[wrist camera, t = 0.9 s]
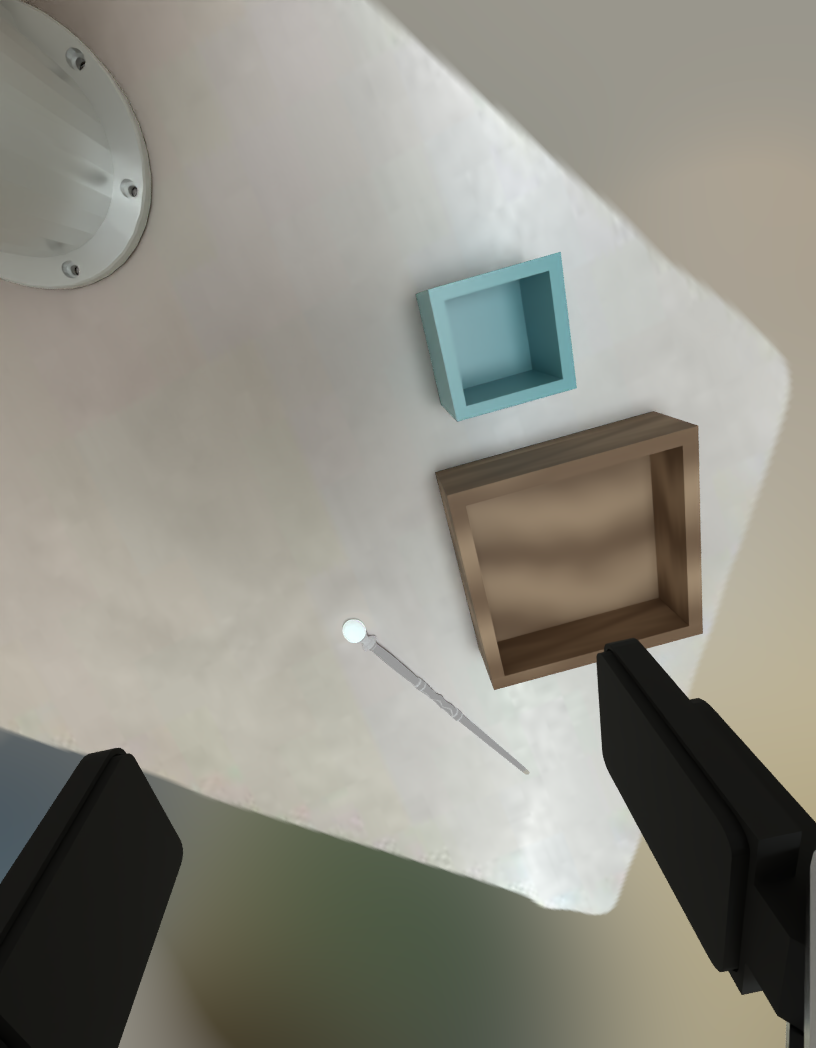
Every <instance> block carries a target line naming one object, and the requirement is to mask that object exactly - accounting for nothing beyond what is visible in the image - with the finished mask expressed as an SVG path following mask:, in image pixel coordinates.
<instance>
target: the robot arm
mask: <svg viewBox="0 0 816 1048" xmlns="http://www.w3.org/2000/svg"><path fill="white" fill-rule="evenodd" d="M82 62H85V66H84V68H83V69H82V70H81V69H80V64H81V63H82ZM134 187H137V189H138V193H137V196H136V197H133V195H132V193H131V191H132V188H134ZM150 204H151V172H150V165H149V158H148V151H147V148H146V145H145V142H144V138H143V135H142V132H141V128H140V125H139V123H138V121H137V119H136V117H135V114H134V112H133V110H132V108H131V106H130V104H129V102H128V100H127V98H126V96H125V94H124V93H123V91H122V90H121V88H120V87H119V85H118V84H117V82H116V81H115V79H114V78H113V76H112V75H111V73H110V72H109V71H108V70H107V68H106V67H105V66H104V65H103V64H102V63H101V62H100V61H99V59H98V58H97V57H96V56H95V55H94V54H93V53H92V52H91V51H90V49H89V48H88V47H87V46H86V45H84V44H83V43H82V42H81V41H80V40H79V39H78V38H77V37H76V36H75V35H74V34H73V33H72V32H71V31H69V30H68V29H67V28H66V27H64V26H63V25H61V24H60V23H59V22H57V21H56V20H54V19H53V18H52V17H50V16H49V15H47V14H46V13H44V12H43V11H41V10H39V9H37V8H35V7H33V6H31V5H29V4H27V3H25V2H22V1H20V0H0V279H3V280H5V281H8V282H12V283H16V284H19V285H23V286H27V287H32V288H41V289H73V288H77V287H81V286H86V285H90V284H93V283H95V282H97V281H99V280H101V279H103V278H105V277H107V276H109V275H110V274H111V273H113V272H114V271H115V270H116V269H117V268H119V267H120V266H121V265H122V264H123V263H125V261H126V260H127V259H128V257H129V256H130V255H131V253H132V252H133V251H134V249H135V248H136V247H137V245H138V242H139V240H140V238H141V236H142V233H143V231H144V229H145V227H146V223H147V218H148V213H149V209H150ZM76 266H78V269H79V274H78V275H77V274H76V273H75V267H76ZM596 661H597V676H598V692H599V708H600V723H601V739H602V753H603V758H604V761H605V764H606V767H607V769H608V771H609V774H610V775H611V777H612V779H613V781H614V783H615V785H616V787H617V788H618V790H619V792H620V794H621V796H622V798H623V799H624V801H625V803H626V805H627V807H628V809H629V811H630V812H631V814H632V816H633V818H634V820H635V822H636V824H637V825H638V827H639V829H640V831H641V833H642V835H643V837H644V838H645V840H646V842H647V844H648V846H649V848H650V850H651V851H652V853H653V855H654V857H655V859H656V861H657V862H658V864H659V866H660V868H661V870H662V872H663V874H664V875H665V877H666V879H667V881H668V883H669V885H670V887H671V888H672V890H673V892H674V894H675V896H676V898H677V899H678V901H679V903H680V905H681V907H682V909H683V911H684V913H685V914H686V916H687V918H688V920H689V922H690V923H691V925H692V927H693V929H694V931H695V933H696V935H697V937H698V939H699V940H700V942H701V944H702V946H703V948H704V950H705V951H706V953H707V955H708V957H709V959H710V960H711V962H712V964H713V965H714V966H715V968H716V969H717V970H718V971H719V972H724V971H729V973H730V975H731V977H732V978H733V980H734V982H735V983H736V986H737V987H738V989H739V991H740V992H741V994H742V995H744V994H749V993H753V992H758V991H763V992H764V994H765V996H766V997H767V999H768V1000H769V1002H770V1004H771V1006H772V1007H773V1009H774V1010H775V1012H776V1014H777V1016H779V1017H781V1018H782V1019H784V1020H785V1021H787V1022H786V1023H787V1024H786V1048H816V823H815V821H814V820H813V819H812V818H811V817H810V816H809V815H808V813H806V811H805V810H804V809H803V808H802V807H801V806H800V805H799V803H798V802H797V801H796V800H795V799H794V798H793V797H792V796H791V795H790V793H789V792H788V791H787V790H786V789H785V788H784V787H783V786H782V785H781V784H780V782H778V780H777V779H776V778H775V777H774V776H773V775H772V773H771V772H770V771H769V770H768V769H767V768H766V767H765V766H764V765H763V763H762V762H761V761H760V760H759V759H758V758H757V757H756V756H755V755H754V754H753V752H752V751H751V750H750V749H749V748H748V747H747V746H746V745H745V743H744V742H743V741H742V740H741V739H740V738H739V737H738V736H737V735H736V733H735V732H734V731H733V730H732V729H731V728H730V727H729V726H728V725H727V724H726V722H725V721H724V720H723V719H722V718H721V717H720V716H719V715H718V713H717V712H716V711H715V710H714V709H713V708H712V707H711V706H710V705H709V704H708V703H706V701H704V700H702V699H700V698H696V699H691V700H689V699H688V697H687V696H686V695H685V694H684V693H683V692H682V690H681V689H680V688H679V687H678V686H677V685H676V683H675V682H674V681H673V680H672V679H671V678H670V676H669V675H668V674H667V673H666V672H665V671H664V669H663V668H662V667H661V666H660V665H659V664H658V662H657V661H656V660H655V659H654V658H653V657H652V655H651V654H650V653H649V652H648V651H647V650H646V648H645V647H644V646H643V645H642V644H641V643H640V642H639V641H638V640H637V639H636V638H630V639H625V640H621V641H616V642H611V643H607V644H605V646H604V652H601V653H598V654H597V656H596ZM182 856H183V848H182V843H181V840H180V838H179V837H178V835H177V833H176V831H175V829H174V828H173V826H172V824H171V822H170V821H169V819H168V817H167V815H166V813H165V812H164V810H163V808H162V806H161V805H160V803H159V801H158V799H157V797H156V795H155V794H154V792H153V790H152V788H151V786H150V785H149V783H148V781H147V779H146V777H145V776H144V774H143V772H142V770H141V768H140V767H139V765H138V763H137V761H136V759H135V758H134V756H133V755H131V754H130V753H129V754H126V752H125V751H124V750H123V749H121V748H114V749H109V750H105V751H100V752H95V753H91V754H88V755H86V756H85V757H84V758H83V759H82V760H81V761H80V763H79V765H78V766H77V767H76V769H75V770H74V772H73V774H72V775H71V777H70V778H69V780H68V781H67V783H66V785H65V786H64V787H63V789H62V791H61V792H60V793H59V795H58V796H57V798H56V800H55V801H54V803H53V804H52V806H51V807H50V809H49V810H48V812H47V813H46V815H45V816H44V818H43V819H42V821H41V822H40V824H39V825H38V827H37V829H36V830H35V832H34V833H33V835H32V836H31V838H30V839H29V841H28V842H27V844H26V845H25V847H24V848H23V850H22V852H21V853H20V854H19V856H18V858H17V859H16V861H15V862H14V864H13V865H12V867H11V868H10V870H9V871H8V873H7V874H6V876H5V877H4V879H3V881H2V882H1V884H0V1048H118V1046H119V1043H120V1040H121V1037H122V1034H123V1031H124V1028H125V1026H126V1023H127V1020H128V1017H129V1014H130V1011H131V1008H132V1005H133V1002H134V999H135V996H136V994H137V991H138V988H139V985H140V982H141V979H142V976H143V973H144V970H145V967H146V964H147V962H148V959H149V955H150V953H151V950H152V947H153V944H154V941H155V938H156V935H157V932H158V930H159V927H160V924H161V920H162V918H163V915H164V912H165V909H166V906H167V903H168V901H169V897H170V895H171V892H172V889H173V886H174V883H175V880H176V877H177V874H178V871H179V868H180V866H181V862H182Z"/></svg>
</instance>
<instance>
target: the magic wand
mask: <svg viewBox="0 0 816 1048" xmlns="http://www.w3.org/2000/svg"><path fill="white" fill-rule="evenodd" d="M343 635H344V637H345V638H346V639H347V640H348V641H349V642H352V643H362V644H363V650H364V651H368V650H371V651H372V652H374V653H375V654H376V655H377V656H378V657H379V658H380V659H382V660H383V661H384V662H385V663H386V664H388V665H389V666H390V667H391V668H393V669H394V670H395V671H396V672H398V673H399V674H400V675H402V676H403V677H404V678H406V679H407V680H408V681H410V682H411V683H412V684H413V686H414V687H416V688H417V689H418V690H419V691H421V692H422V693H424V694H426V695H427V696H428V697H429V698H431V699H433V700H434V701H435V702H436V703H437V704H438V705H439V706H440V707H441V708H443V709H444V710H445V711H446V712H448V713H449V714H450V716H451V717H453V718H454V719H455V720H456V721H459V722H461V723H462V724H463V725H464V726H466V727H467V728H468V729H469V730H471V731H472V732H473V733H474V734H476V735H477V736H478V737H479V738H481V739H482V740H483V741H484V742H486V743H487V744H488V745H489V746H491V747H492V748H493V749H494V750H496V751H497V752H498V753H500V754H501V755H502V756H503V757H505V758H506V759H507V760H508V761H510V762H511V763H512V764H513V765H515V766H516V767H517V768H518V769H520V770H521V771H522V772H523V773H525V774H529V771H528V770H527V769H526V768H525V767H524V766H522V765H521V764H520V763H519V762H518V761H517V760H515V759H514V758H513V757H512V756H511V755H510V754H509V753H507V752H506V751H505V750H504V749H503V748H502V747H500V746H499V745H498V744H497V743H496V742H495V741H493V740H492V739H491V738H490V737H489V736H487V735H486V734H485V733H484V732H483V731H481V730H480V729H479V728H478V727H477V726H476V725H474V724H473V723H472V722H471V721H470V720H468V719H467V718H466V717H465V716H464V715H463V714H462V712H461V711H459V710H458V709H457V708H455V707H454V706H453V705H451V704H450V703H448V702H447V701H446V700H444V699H443V697H442V696H441V695H438V694H436V693H435V692H434V691H433V690H432V689H431V688H430V687H429V686H428V685H427V684H426V683H425V682H424V681H423V680H422V679H420V678H418V677H416V676H415V675H414V674H413V673H412V672H411V671H410V670H409V669H407V668H406V667H405V666H404V665H403V664H402V663H400V662H399V661H398V660H397V659H396V658H395V657H393V656H392V655H391V654H390V653H388V652H387V651H386V650H384V649H383V648H382V647H380V646H379V645H378V644H376V637H375V636H367V631H366V628H365V626H364V625H363V623H362V622H360V621H359V620H349V621H347V622H346V623H345V624H344V626H343Z"/></svg>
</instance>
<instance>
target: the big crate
mask: <svg viewBox="0 0 816 1048" xmlns="http://www.w3.org/2000/svg"><path fill="white" fill-rule="evenodd" d="M435 473H436V477H437V481H438V485H439V489H440V494H441V498H442V502H443V506H444V510H445V514H446V518H447V522H448V526H449V530H450V534H451V538H452V542H453V546H454V550H455V554H456V558H457V562H458V566H459V570H460V574H461V578H462V582H463V586H464V590H465V594H466V598H467V602H468V606H469V610H470V614H471V618H472V622H473V626H474V630H475V634H476V638H477V642H478V646H479V650H480V653H481V655H482V658H483V661H484V664H485V666H486V669H487V672H488V675H489V677H490V680H491V683H492V686H493V688H494V690H496V689H500V688H503V687H507V686H511V685H514V684H518V683H522V682H525V681H529V680H533V679H536V678H540V677H544V676H547V675H551V674H555V673H559V672H562V671H566V670H570V669H573V668H577V667H581V666H584V665H588V664H592V663H595V662H597V661H596V656H597V654H598V653H601V652H604V646H605V644H607V643H611V642H616V641H621V640H625V639H630V638H636V639H637V640H638V641H639V642H640V643H641V644H642V645H643V646H644V647H645V648H646V649H647V648H651V647H654V646H658V645H662V644H665V643H669V642H673V641H676V640H680V639H684V638H687V637H691V636H695V635H698V634H702V633H703V626H702V580H701V533H700V487H699V441H698V426H697V425H694V424H691V423H688V422H685V421H682V420H679V419H676V418H673V417H670V416H666V415H663V414H660V413H657V412H654V411H653V412H650V413H646V414H642V415H639V416H635V417H632V418H628V419H625V420H621V421H617V422H614V423H610V424H607V425H603V426H599V427H596V428H592V429H589V430H585V431H582V432H578V433H574V434H571V435H567V436H564V437H560V438H557V439H553V440H549V441H546V442H542V443H539V444H535V445H531V446H528V447H524V448H521V449H517V450H514V451H510V452H506V453H503V454H499V455H496V456H492V457H488V458H485V459H481V460H478V461H474V462H471V463H467V464H463V465H460V466H456V467H453V468H449V469H445V470H442V471H438V472H435Z"/></svg>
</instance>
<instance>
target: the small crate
mask: <svg viewBox="0 0 816 1048" xmlns="http://www.w3.org/2000/svg"><path fill="white" fill-rule="evenodd" d="M416 297H417V302H418V306H419V310H420V315H421V319H422V323H423V328H424V332H425V336H426V341H427V345H428V349H429V354H430V358H431V362H432V367H433V371H434V375H435V380H436V384H437V388H438V393H439V397H440V401H441V405H442V406H443V407H444V408H445V409H446V410H447V411H448V412H449V413H450V415H451V416H452V417H453V418H454V419H455V420H456V421H457V422H458V421H461V420H465V419H468V418H472V417H476V416H479V415H483V414H486V413H490V412H493V411H497V410H501V409H504V408H508V407H511V406H515V405H518V404H522V403H526V402H529V401H533V400H536V399H540V398H543V397H547V396H550V395H554V394H558V393H561V392H565V391H568V390H572V389H575V388H577V386H576V378H575V369H574V361H573V353H572V344H571V336H570V327H569V319H568V310H567V302H566V294H565V285H564V277H563V268H562V260H561V252H558V253H555V254H551V255H548V256H544V257H541V258H537V259H534V260H530V261H527V262H523V263H520V264H516V265H513V266H509V267H506V268H502V269H499V270H495V271H492V272H488V273H485V274H481V275H478V276H474V277H471V278H467V279H464V280H460V281H457V282H453V283H450V284H446V285H443V286H439V287H436V288H432V289H428V290H426V291H423V292H420V293H418V294H416Z"/></svg>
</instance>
